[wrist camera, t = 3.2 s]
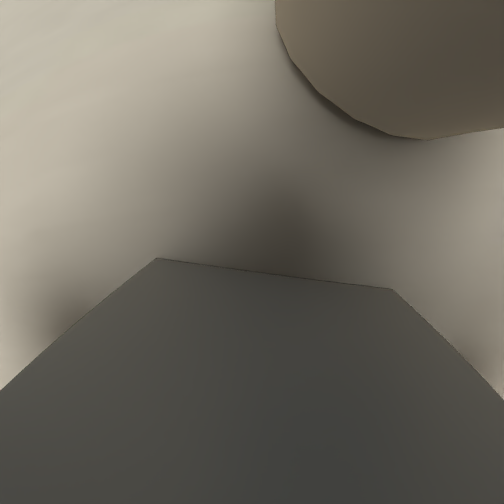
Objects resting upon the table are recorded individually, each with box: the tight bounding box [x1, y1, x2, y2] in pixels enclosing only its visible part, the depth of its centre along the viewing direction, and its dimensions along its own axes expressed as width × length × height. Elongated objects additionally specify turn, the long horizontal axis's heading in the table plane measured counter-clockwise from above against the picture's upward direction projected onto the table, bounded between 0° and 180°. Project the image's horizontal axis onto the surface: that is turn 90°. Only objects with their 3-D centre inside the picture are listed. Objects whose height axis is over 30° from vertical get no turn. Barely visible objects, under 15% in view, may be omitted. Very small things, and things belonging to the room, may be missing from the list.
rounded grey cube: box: [0, 258, 504, 504], centre depth 6 cm, size 8×8×9 cm
